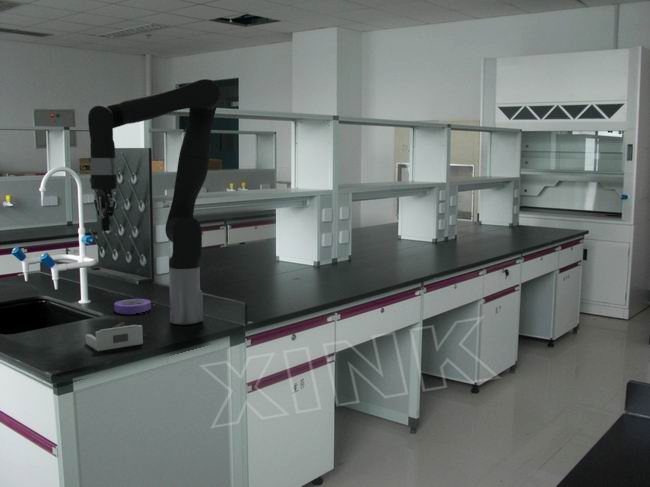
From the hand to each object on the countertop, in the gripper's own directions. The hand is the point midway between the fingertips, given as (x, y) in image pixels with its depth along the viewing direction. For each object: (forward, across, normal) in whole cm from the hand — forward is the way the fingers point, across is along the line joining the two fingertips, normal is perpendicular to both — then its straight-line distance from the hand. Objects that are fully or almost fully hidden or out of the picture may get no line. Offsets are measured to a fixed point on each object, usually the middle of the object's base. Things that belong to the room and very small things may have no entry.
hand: (105, 230), depth 205 cm
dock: (+29, -24, +7) cm, 38 cm away
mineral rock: (+28, -15, +8) cm, 33 cm away
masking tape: (+29, +11, -12) cm, 34 cm away
